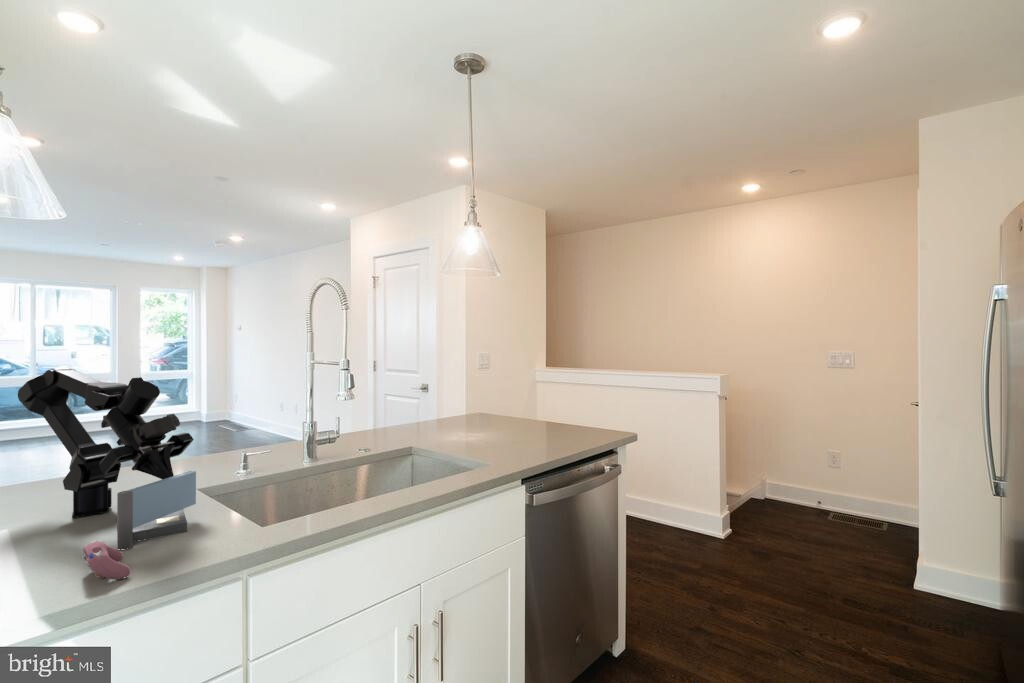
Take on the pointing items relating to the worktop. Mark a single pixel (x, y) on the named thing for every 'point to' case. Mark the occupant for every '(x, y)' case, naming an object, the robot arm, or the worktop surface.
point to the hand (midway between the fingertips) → (171, 480)
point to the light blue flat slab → (152, 504)
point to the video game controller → (105, 561)
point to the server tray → (162, 526)
